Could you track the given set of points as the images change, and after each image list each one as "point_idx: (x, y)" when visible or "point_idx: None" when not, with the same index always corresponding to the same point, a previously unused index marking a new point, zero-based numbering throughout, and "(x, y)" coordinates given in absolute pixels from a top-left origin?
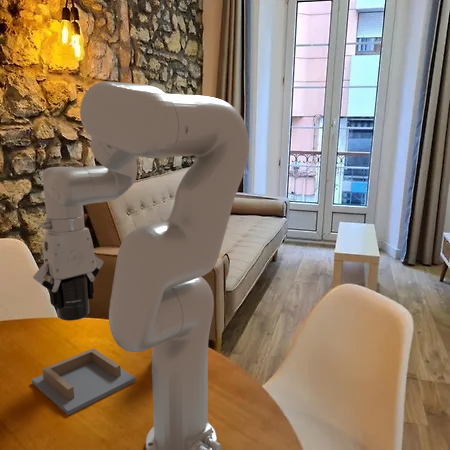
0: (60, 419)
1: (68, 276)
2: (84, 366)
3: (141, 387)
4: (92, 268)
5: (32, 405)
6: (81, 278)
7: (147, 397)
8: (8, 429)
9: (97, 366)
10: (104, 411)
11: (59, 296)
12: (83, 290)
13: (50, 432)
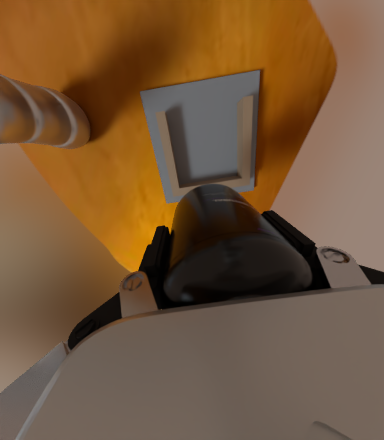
0: (268, 72)
1: (346, 299)
2: (192, 178)
3: (138, 67)
4: (96, 351)
5: (274, 138)
6: (211, 275)
7: (139, 21)
8: (319, 102)
9: (178, 167)
10: (213, 38)
11: (292, 231)
12: (201, 221)
13: (293, 45)
